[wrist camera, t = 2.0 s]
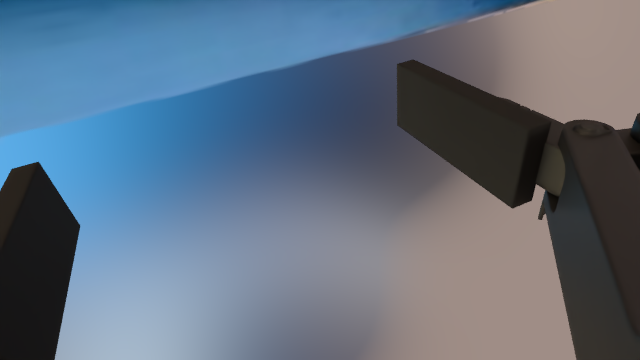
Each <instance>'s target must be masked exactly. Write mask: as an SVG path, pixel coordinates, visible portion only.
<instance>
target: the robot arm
mask: <svg viewBox="0 0 640 360" xmlns="http://www.w3.org/2000/svg"><path fill="white" fill-rule="evenodd" d="M397 125H398V126H399V127H401V128H402V129H403V130H405V131H406V132H408V133H409V134H410V135H412V136H413V137H414V138H416V139H417V140H418V141H420V142H421V143H423V144H424V145H425V146H427V147H428V148H429V149H431V150H432V151H434V152H435V153H436V154H438V155H439V156H441V157H442V158H444V159H445V160H446V161H447V162H449V163H450V164H452V165H453V166H454V167H456V168H457V169H459V170H460V171H461V172H463V173H464V174H465V175H467V176H468V177H469V178H471V179H472V180H474V181H475V182H476V183H478V184H479V185H480V186H482V187H483V188H485V189H486V190H487V191H489V192H490V193H492V194H493V195H494V196H496V197H497V198H498V199H500V200H501V201H503V202H504V203H505V204H507V205H508V206H510V207H511V208H515V207H517V206H520V205H522V204H524V203H527V202H529V201H531V200H532V198H533V194H534V190H535V185H536V184H537V185H539V186H540V187H542V188H543V189H545V194H544V197H543V201H542V205H541V208H540V212H539V216H538V219H539V220H542V218H543V215H544V214H546V216H547V221H548V226H549V231H550V236H551V240H552V245H553V249H554V255H555V259H556V264H557V269H558V274H559V278H560V283H561V288H562V292H563V297H564V302H565V307H566V311H567V316H568V321H569V326H570V331H571V335H572V340H573V345H574V350H575V354H576V359H577V360H640V113H639V114H637V116H636V119H635V121H634V124H633V127H632V128H629V129H622V130H615V129H614V128H613V127H611V126H609V125H607V124H605V123H601V122H598V121H592V120H573V121H570V122H567V123H565V124H563V123H561V122H558V121H556V120H554V119H551V118H549V117H547V116H545V115H543V114H540V113H538V112H536V111H533V110H532V111H531V110H530V109H529V108H527V107H524V106H520V104H518V103H515V102H513V101H511V100H508V99H504V98H499V97H496V96H494V95H491V94H489V93H487V92H484V91H482V90H480V89H478V88H476V87H474V86H471V85H469V84H467V83H464V82H462V81H460V80H458V79H456V78H453V77H451V76H449V75H446V74H445V73H442V72H440V71H438V70H435V69H433V68H431V67H429V66H426V65H424V64H422V63H420V62H418V61H415V60H410V61H407V62H403V63H399V64H397ZM79 230H80V225H79V223H78V222H77V220H76V219H75V217H74V216H73V214H72V212H71V211H70V209H69V208H68V206H67V205H66V203H65V202H64V200H63V199H62V197H61V195H60V194H59V192H58V191H57V189H56V188H55V186H54V185H53V184H52V182H51V180H50V178H49V177H48V175H47V174H46V172H45V171H44V170H43V168H42V166H41V165H40V163H39V162H36V163H32V164H28V165H25V166H21V167H17V168H14V169H12V170H11V172H10V173H9V175H8V177H7V179H6V181H5V183H4V185H3V187H2V188H1V191H0V360H54V359H55V354H56V349H57V344H58V339H59V333H60V328H61V323H62V318H63V312H64V307H65V302H66V297H67V291H68V287H69V281H70V276H71V271H72V266H73V261H74V256H75V250H76V245H77V240H78V235H79Z"/></svg>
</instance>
